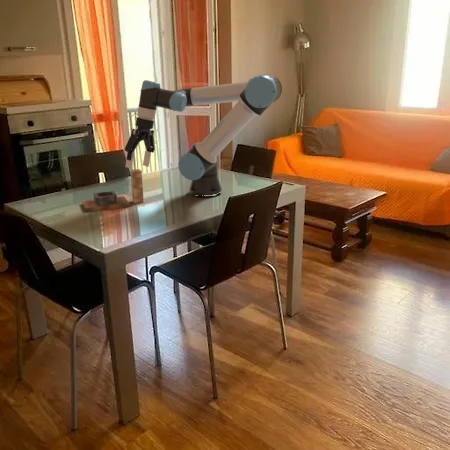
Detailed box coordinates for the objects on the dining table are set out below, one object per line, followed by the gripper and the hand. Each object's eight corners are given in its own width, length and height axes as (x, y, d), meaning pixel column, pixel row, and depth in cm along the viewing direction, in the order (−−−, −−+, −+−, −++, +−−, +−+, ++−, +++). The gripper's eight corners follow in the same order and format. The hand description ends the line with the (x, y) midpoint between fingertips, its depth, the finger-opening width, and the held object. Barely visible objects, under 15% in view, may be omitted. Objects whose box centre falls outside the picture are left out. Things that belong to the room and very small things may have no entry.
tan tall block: (141, 200, 203) (139, 169, 198) (143, 202, 199) (141, 171, 194) (132, 200, 201) (130, 169, 196) (134, 203, 198) (132, 171, 193)
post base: (124, 199, 204) (123, 188, 202) (129, 206, 193) (128, 195, 192) (82, 203, 197) (81, 192, 195) (85, 212, 187) (84, 200, 185)
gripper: (153, 117, 207) (145, 163, 213) (121, 114, 184) (113, 166, 190) (167, 121, 204) (159, 167, 210) (136, 119, 182) (128, 170, 187)
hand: (137, 166), depth 200 cm, fingers open, 13 cm apart
